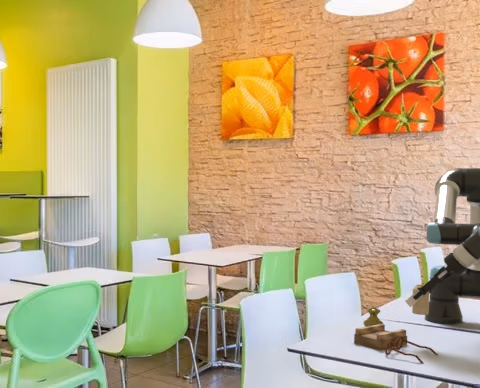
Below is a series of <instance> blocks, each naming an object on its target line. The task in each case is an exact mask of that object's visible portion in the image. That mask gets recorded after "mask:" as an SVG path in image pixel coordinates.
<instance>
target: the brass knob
mask: <svg viewBox="0 0 480 388" xmlns="http://www.w3.org/2000/svg"><path fill="white" fill-rule="evenodd" d="M366 311H367V313H368V314H369V317H368V318H366V319H365V320H363V325H364V326H363V327H367V326H373V325H378V324H384V322H383V321H382V320H381V318H379V317H378V315H379V314H380V313H381V309H379V308H377V307H376V306H371V307H370V308H369V307H368V309H366Z"/></svg>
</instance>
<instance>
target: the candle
mask: <svg viewBox="0 0 480 388" xmlns="http://www.w3.org/2000/svg"><path fill="white" fill-rule="evenodd" d="M424 285H425V284H422V283H421V284H416V285H414V287H413V288H412V295H413V294H414V293H415V292H416V291H417V290H418V289H417V288H418V287H419V288H421V287H422V286H424ZM429 301H430V293H429V291H428V292H427V293H426V294H425V295H424V296H423V297H422V298H421V299H420V300H419V301H417V302H416V303H415V304H414V305H413V306H411V307H412V308H411V309H412V310H411V311H412V312H411V313H412V314H414V315H420V316H425V315H427V314H429Z"/></svg>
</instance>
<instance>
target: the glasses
mask: <svg viewBox="0 0 480 388" xmlns="http://www.w3.org/2000/svg"><path fill="white" fill-rule="evenodd" d="M401 338H402V342H401V345H400V346H398V343H399V340H400V339H401ZM403 341H404V342H407V344H409V345H412V346H414V347H417V348H420V349H426V350H429V351H430V352H431V353H433V354H434V355H435V356H437V355H438V356H439V354H438V352H436V351H435V350H434V349H433V348H431V347H429V346H425V345H424V346H423V345H420V344H418V343H414V342H412V341H409V340H408V339H407V340H404V338H403V337H402V336H401V337H399V339H398V340H397V341H395V342H393V341H390V342H389V343H388V344H387V347H386V349H385V351H384V353H385V355H386V356H389V355H390V354H391V353H392V351H394V352H396V353H398V354H401V355H402V356H403V355H404V356H411V357H413V358H414V357H415V358H416V359H417V360H418V362H419V363H420V364H425V363H424V361H423V360H422V359H421V358H420V357H419V356H418V355H417V354H414V353H406V352H404V351H401V348H402V344H403ZM390 343H391V347H389V344H390ZM396 343H397V344H396ZM394 344H396V347H394V348H393V345H394ZM388 349H389V351H388Z"/></svg>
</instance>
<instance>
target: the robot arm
mask: <svg viewBox="0 0 480 388" xmlns="http://www.w3.org/2000/svg"><path fill="white" fill-rule="evenodd" d="M434 195H435V197H436V200H435V205H434V206H435V207H434V208H435V209H434V217H433V222H427V223H426V224H427V225H426V241H427V242H428V243H429V244H437V245H458V246H456V247H455V248H454V249H453V250H452V252H450V253H449V254H447V255H446V256H445V257H444V258H443V261H444V263H445V264H443V265H434V266H433V267H432V268H431V269H430V273H429V274H430V275H429V280H428V281H427V282H426V283H425V284H423V285H424V286H422V287H421V288H419V287H418V288H417V289H418V290H417V291H416V292H415V293H414V294H413V293H412V295H410V296H409V297H408V298H407V299H405V300H404V302H405V303H406V305H407V306H409V307H410V308H411V307H412V306H413V305H414V304H415V303H416V302H417V301H419V300H420V299H421V298H422V297H423V296H424V295H425V294H426V293H427V292H428V291H429V314H427V315H424V319H425V320H426V321H428V322H433V323H437V324H447V325H449V324H450V325H456V324H461V323H463V320H464V317H463V314H462V313H463V312H462V310H461V307H460V303H459V302H460V301H459V300H460V299H459V298H470V299H480V167H474V168H472V167H469V168H467V167H464V168H462V167H457V168H453V169H451V170H448V171H447V172H445V173H444V174H443V175H441V176H440V177H439V178H438V180H437V181H436V183H435V186H434ZM459 197H461V198H463V197H465V198H466V203H468V204H469V205H470V210H469V211H470V213H469V214H470V215H469V216H470V217H469V223H456V217H457V216H456V215H457V214H456V213H457V201H458V198H459Z"/></svg>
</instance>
